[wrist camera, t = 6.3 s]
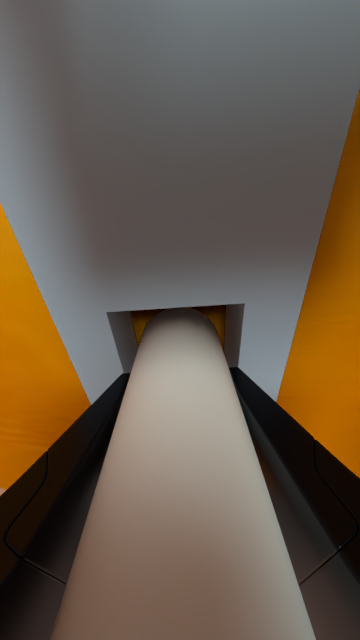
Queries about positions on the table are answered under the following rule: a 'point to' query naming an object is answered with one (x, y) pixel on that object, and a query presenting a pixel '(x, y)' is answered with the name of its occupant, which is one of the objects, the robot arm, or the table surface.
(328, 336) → the table surface
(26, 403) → the table surface
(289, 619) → the peg
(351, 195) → the table surface
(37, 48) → the socket board
